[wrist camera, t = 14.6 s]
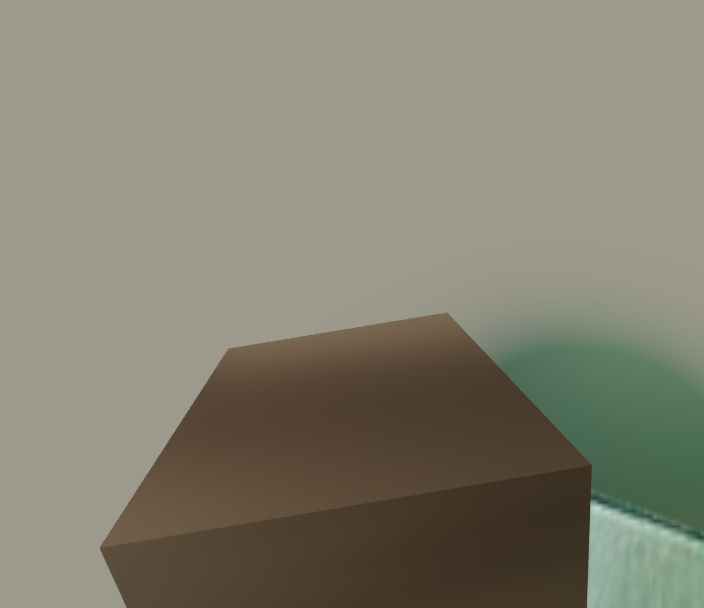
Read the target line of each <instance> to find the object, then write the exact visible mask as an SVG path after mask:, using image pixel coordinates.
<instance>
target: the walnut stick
mask: <svg viewBox="0 0 704 608" xmlns="http://www.w3.org/2000/svg"><path fill="white" fill-rule="evenodd" d="M591 466H592V465H591V464H590V463H589V462H588V461H587V460H586V459H585V458H584V457H583V456H582V454H580V452H578V450H577V449H576V448H575V447H574V446H573V445H572V444H571V443H570V442H569V441H568V440H567V439H566V438H565V437H564V436H563V435H562V433H561V432H560V431H559V430H558V429H557V428H556V427H555V426H554V425H553V424H552V423H551V422H550V421H549V420H548V419H547V418H546V417H545V416H544V414H543V413H542V412H541V411H540V410H539V409H538V408H537V407H536V406H535V405H534V404H533V403H532V402H531V401H530V400H529V399H528V398H527V397H526V395H525V394H524V393H523V392H522V391H521V390H520V389H519V388H518V387H517V386H516V385H515V384H514V383H513V382H512V381H511V380H510V379H509V378H508V376H507V375H506V374H505V373H504V372H503V371H502V370H501V369H500V368H499V367H498V366H497V365H496V364H495V363H494V362H493V361H492V360H491V359H490V357H489V356H488V355H487V354H486V353H485V352H484V351H483V350H482V349H481V348H480V347H479V346H478V345H477V344H476V343H475V342H474V341H473V340H472V338H471V337H470V336H469V335H468V334H467V333H466V332H465V331H464V330H463V329H462V328H461V327H460V326H459V325H458V324H457V323H456V322H455V321H454V319H453V318H452V317H451V316H450V315H449V314H448V313H442V314H436V315H430V316H424V317H418V318H412V319H406V320H399V321H393V322H387V323H382V324H376V325H369V326H363V327H357V328H352V329H346V330H339V331H333V332H328V333H321V334H315V335H309V336H303V337H297V338H291V339H285V340H279V341H273V342H267V343H261V344H254V345H249V346H243V347H237V348H230V349H228V350H227V352H226V353H225V355H224V356H223V358H222V359H221V361H220V363H219V364H218V366H217V367H216V369H215V370H214V372H213V374H212V375H211V377H210V378H209V380H208V381H207V383H206V384H205V386H204V387H203V389H202V391H201V392H200V394H199V395H198V397H197V398H196V400H195V401H194V403H193V405H192V406H191V407H190V409H189V411H188V412H187V414H186V415H185V417H184V418H183V420H182V422H181V423H180V425H179V426H178V428H177V429H176V431H175V432H174V434H173V435H172V437H171V438H170V440H169V442H168V443H167V445H166V446H165V448H164V449H163V451H162V452H161V454H160V455H159V457H158V458H157V460H156V462H155V463H154V465H153V466H152V468H151V469H150V471H149V473H148V474H147V475H146V477H145V479H144V480H143V482H142V483H141V485H140V486H139V488H138V489H137V491H136V493H135V494H134V496H133V497H132V499H131V500H130V502H129V503H128V505H127V506H126V508H125V509H124V511H123V513H122V514H121V516H120V517H119V519H118V520H117V522H116V523H115V525H114V527H113V528H112V530H111V531H110V533H109V534H108V536H107V537H106V539H105V541H104V542H103V544H102V545H101V547H100V550H101V552H102V554H103V556H104V559H105V561H106V563H107V565H108V567H109V570H110V572H111V574H112V576H113V578H114V581H115V583H116V585H117V587H118V589H119V592H120V594H121V596H122V598H123V600H124V603H125V605H126V607H127V608H587V587H588V558H589V529H590V499H591V469H592V467H591Z"/></svg>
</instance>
